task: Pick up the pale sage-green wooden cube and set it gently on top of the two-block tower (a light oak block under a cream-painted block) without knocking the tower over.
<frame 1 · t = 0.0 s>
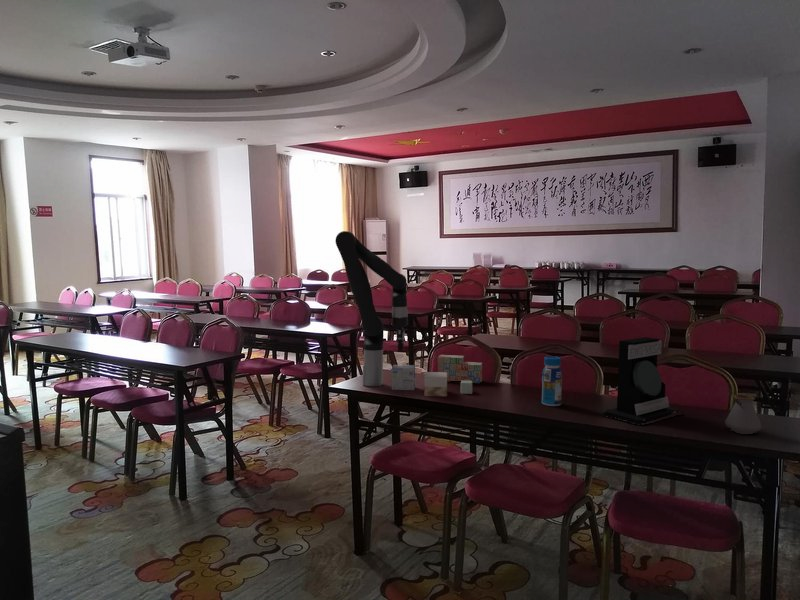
hand: (400, 349, 287), 17 cm above the table, tool pointing down, fingers open, 8 cm apart
stack of blocks: (459, 381, 299), on the table
beverage bottle: (551, 404, 255), on the table
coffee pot: (739, 435, 214), on the table
cream block: (435, 384, 272), point 4 cm above the table, touching oak block
sage cube: (466, 392, 275), on the table
award: (642, 415, 239), on the table
oak block: (435, 394, 273), on the table, touching cream block
light bulb box: (403, 389, 282), on the table
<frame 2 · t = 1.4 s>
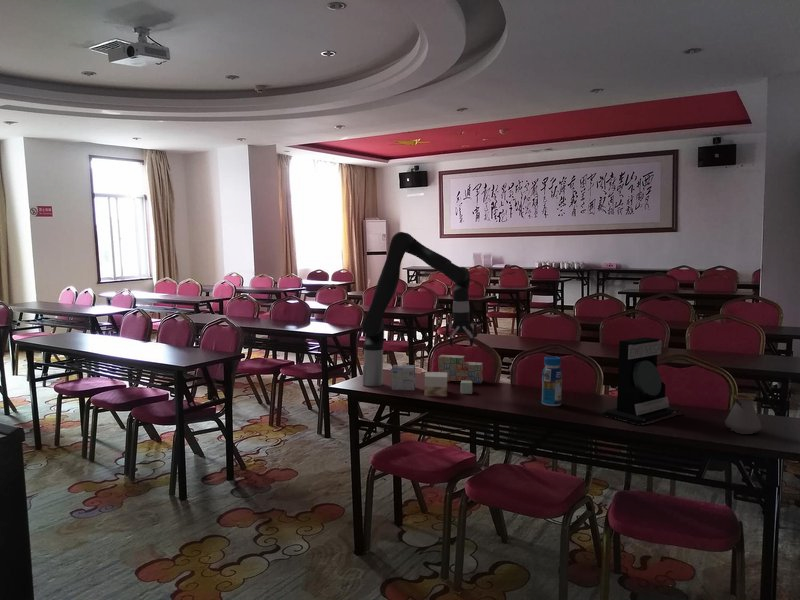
hand: (461, 346, 275), 21 cm above the table, tool pointing down, fingers open, 8 cm apart
nothing on the table moved.
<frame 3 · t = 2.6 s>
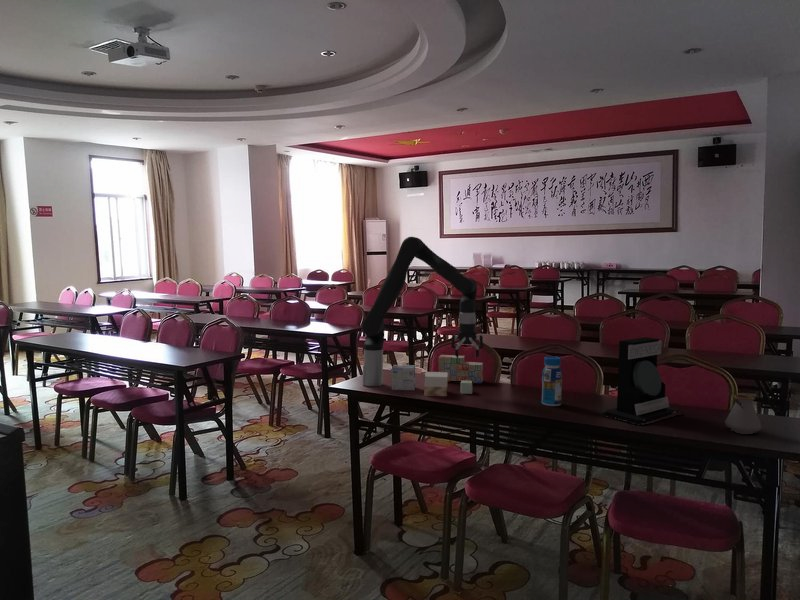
hand: (466, 357, 274), 16 cm above the table, tool pointing down, fingers open, 8 cm apart
nothing on the table moved.
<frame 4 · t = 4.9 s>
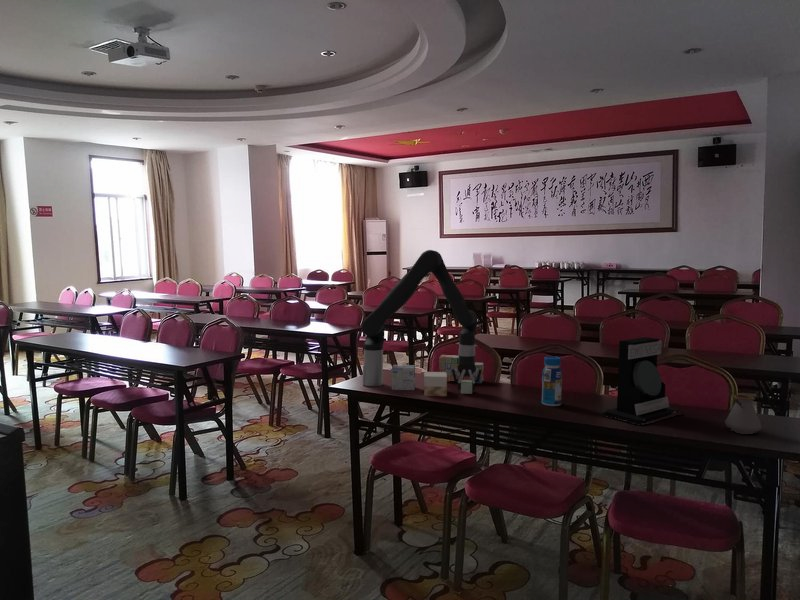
hand: (466, 390, 275), 1 cm above the table, tool pointing down, fingers closed on sage cube, 5 cm apart
cream block: (435, 384, 273), point 4 cm above the table
sage cube: (466, 392, 275), on the table, touching gripper
oak block: (435, 393, 273), on the table
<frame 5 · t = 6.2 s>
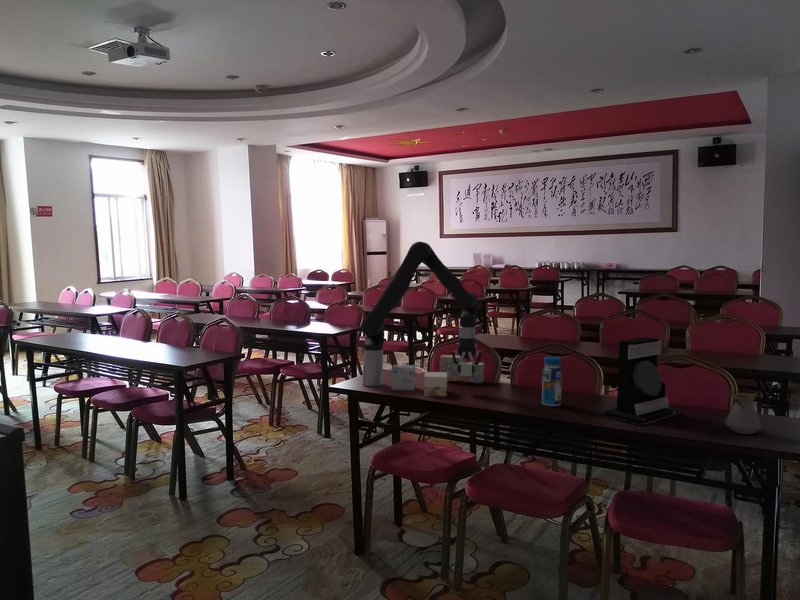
hand: (466, 373, 274), 9 cm above the table, tool pointing down, fingers closed on sage cube, 5 cm apart
cream block: (435, 384, 273), point 4 cm above the table, touching oak block
sage cube: (465, 374, 274), point 8 cm above the table, touching gripper
oak block: (435, 393, 273), on the table, touching cream block
everything else where it was.
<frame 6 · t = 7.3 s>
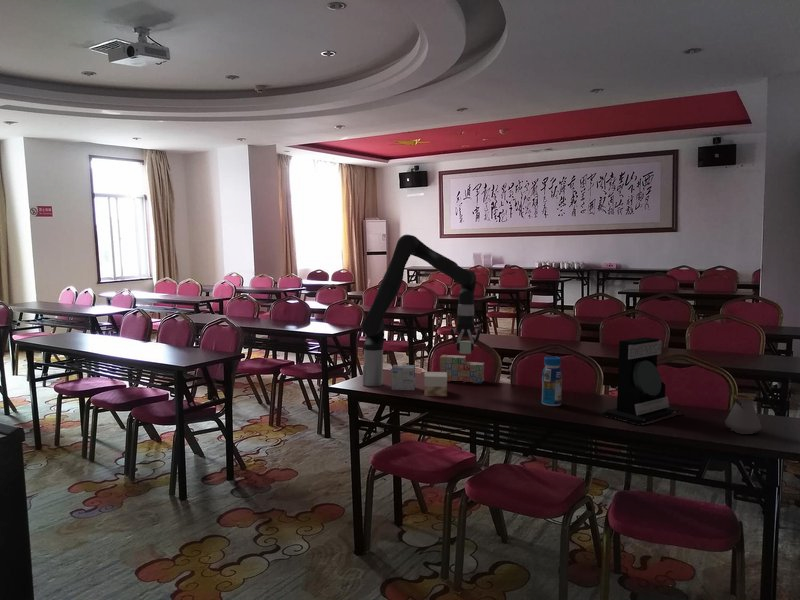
hand: (465, 351, 273), 19 cm above the table, tool pointing down, fingers closed on sage cube, 5 cm apart
sage cube: (464, 352, 273), point 18 cm above the table, touching gripper
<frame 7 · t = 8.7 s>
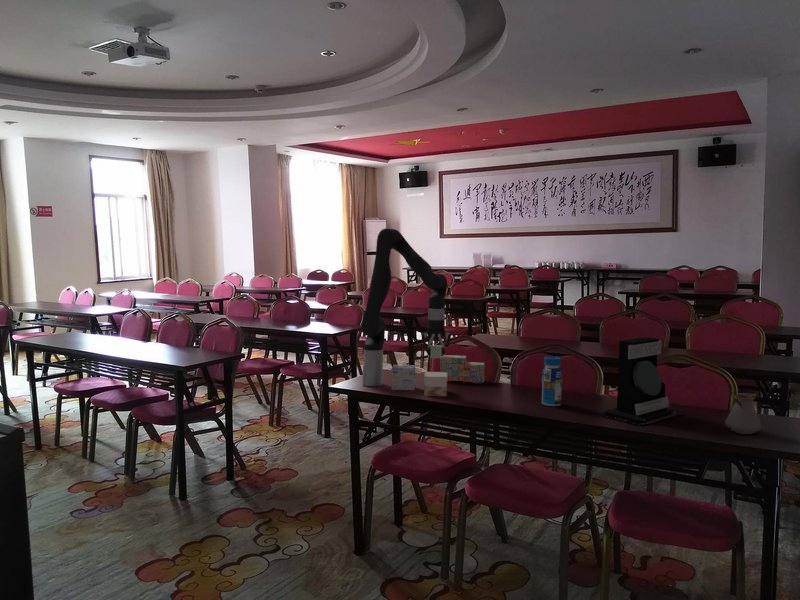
hand: (436, 355, 271), 17 cm above the table, tool pointing down, fingers closed on sage cube, 5 cm apart
sage cube: (435, 357, 271), point 17 cm above the table, touching gripper
when the fingers open (11 cm above the table, at t = 10.5 s): sage cube drops 2 cm, point 9 cm above the table.
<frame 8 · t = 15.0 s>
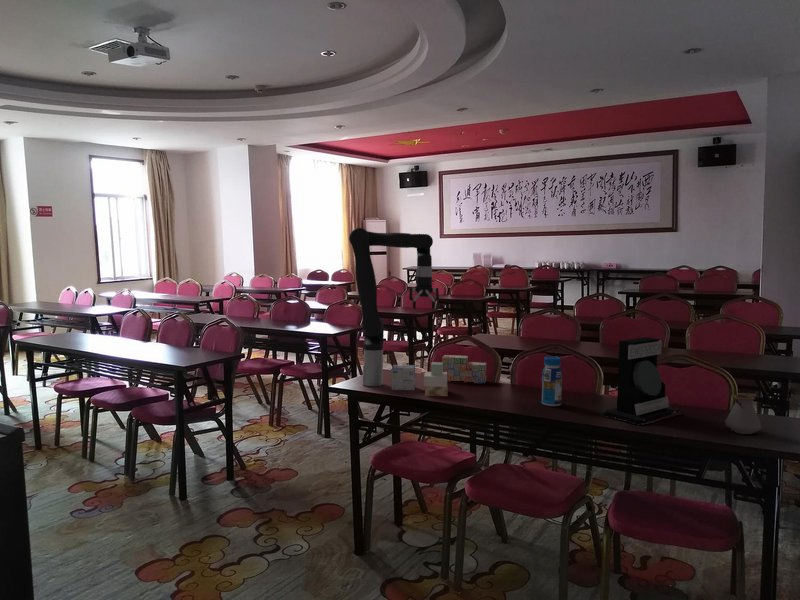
hand: (423, 309, 291), 36 cm above the table, tool pointing down, fingers open, 8 cm apart
sage cube: (436, 374, 272), point 9 cm above the table
at the end: sage cube inside the target area on the oak block (0.2 cm from its centre), point 9.0 cm above the oak block's base; cream block moved 0.3 cm from its start; sage cube tilted 0° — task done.
